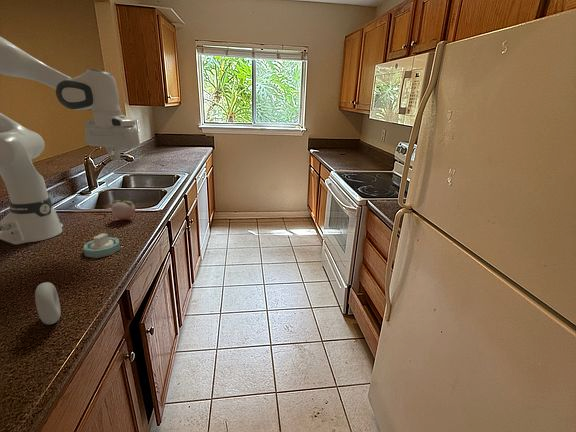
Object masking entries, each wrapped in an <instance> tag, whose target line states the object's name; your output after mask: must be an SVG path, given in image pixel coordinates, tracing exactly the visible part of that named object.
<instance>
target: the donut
mask: <svg viewBox="0 0 576 432" xmlns="http://www.w3.org/2000/svg"><path fill="white" fill-rule="evenodd" d="M34 292H35V293H34V301H35V306H36V310H37V313H38V317H39V319H40V320H41V322H42V323H43V324H45V325H48V326H49V325H53V324H55V323H57V322H58V321H59V320H60V318H61V313H62V311H61V303H60V297H59V295H58V292H57V288H56V286H55V285H54V284H53V283H52V282H50V281H46V282H42V283H39V284H38V285H37V287H36V289H35V290H34Z"/></svg>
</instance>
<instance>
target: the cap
mask: <svg viewBox="0 0 576 432" xmlns="http://www.w3.org/2000/svg"><path fill="white" fill-rule="evenodd" d="M108 237H109V234H108V233H104V232H102V233H99V234H98V235H96V236H93V237H92V239H93V241H94V243H92V244H91V245H90V246H91V249H94V250H98V249H103V248H108V247H110V246H112V245H114V243H113V241H112V240H109V238H108Z"/></svg>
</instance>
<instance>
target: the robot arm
mask: <svg viewBox="0 0 576 432" xmlns="http://www.w3.org/2000/svg"><path fill="white" fill-rule="evenodd" d="M0 75H3V76H7V77H13V78H20V79H27V80H32V81H36V82H38V83H41V84H43V85H46V86H48V87H50V88H52V89H53V90H55V96H56V98H57V101H58V102H59V103H60V104H61V105H62V106H63V107H64V108H67V109H69V110H74V111H85V110H87V111H92V114H93V116H92V117H93V119H87V120H86V121H85V122H84V125H85V128H84V130H85V132H84V133H85V140H86V141H85V142H86V144H87V145H88V146H89V147H90V146H91V147H102V148H103V147H105V150H106V152H107V154H108V155H109V158H110V159H111V160H113V161H114V160H117V161H119V160H121V153H122V150H123V149H137V148H139V146H140V145H141V144H140V137H139V136H140V135H139V132H138V130H137V128H136V127H135V126H136V125H137V123H136V120H135V119H134V118H131V117H129V116H126V115H125V114H123V113H122V109H121V106H120V95H119V90H118V86H117V81H116V79H115V77H114V75H113V74H111V73H110V72H108V71H103V70H99V69H96V68H95V69H94V68H88V69H86V71H85V72H82V74H79V75H78V76H75V77H72V76H69V75H68V74H66V73H64V72H62V71H59V70H57V69H56V68H53V67H52V66H50V65H48V64H46V63H44V62H42V61H40V60H38V59H37V58H36V57H34V56H32V55H31V54H29V53H27V52H26V51H24V49H23V50H22V49H21V48H20V47H19V46H16V45H15V43H14V44H13V43H12V42H10V41H8V40H7V39H5V38H4V37H2V36H1V35H0ZM45 144H46V143H45V140H44V137H42V136H41V135H40V134H39V133H37V132H36V131H33V130H31V129H29V128H27V127H24V126H23V125H21V124H20V123H18V122H17V121H15V120H13V119H12V118H10V117H8V116H6V115H5V114H4V113H2V112H0V177H1V179H2V181H3V182H4V185H5V187H6V190H7V194H8V197H9V200H10V202H7V203H6V206H7V207H9V213H7V214H6V215H5V216H4V217H3V218H2V219H1V220H0V229H1V230H0V240H2V241H4V242H7V243H9V244H13V245H14V246H15V245H16V246H17V245H21V244H25V243H32V242H33V243H34V242H35V243H36V242H39V241H44V240H48V239H51V238H54V237H56V236H58V235H60V234H62V232H63V227H64V224H63V223H61V222H60V219H59V216H58V213H57V211H56V209H55V208H54V207H53V204H52V203H53V202H52V198H51V197H50V196H49V194H48V189H47V185H46V183H45V178H44V177H43V175H41V174H40V173H39V172H38V171H37V169H36V167H35V165H34V164H33V161H32V160H35V159H36V158H38V157H39V156H40V155H41V154H42V153H44V151H45V149H46V148H45V147H46V145H45ZM114 151H115V152H114Z"/></svg>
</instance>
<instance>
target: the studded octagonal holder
mask: <svg viewBox="0 0 576 432" xmlns="http://www.w3.org/2000/svg"><path fill="white" fill-rule="evenodd" d="M108 238H109V240H112V241H113V243H114V245H112V246H110V247H108V248H103V249H98V250H94V249H91V246H90V245H91V244H92V243H94V241H93V240H90V241H89V242H85V244H83V253H84V254H83V255H84V256H85V257H88V258H93V259H97V258H102V257H103V258H104V257H107V256H112V255H114V254H116V253H117V252H119V251H120V250H121V245H120V240H119V238H117V237H111V236H110V237H109V236H108Z"/></svg>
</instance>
